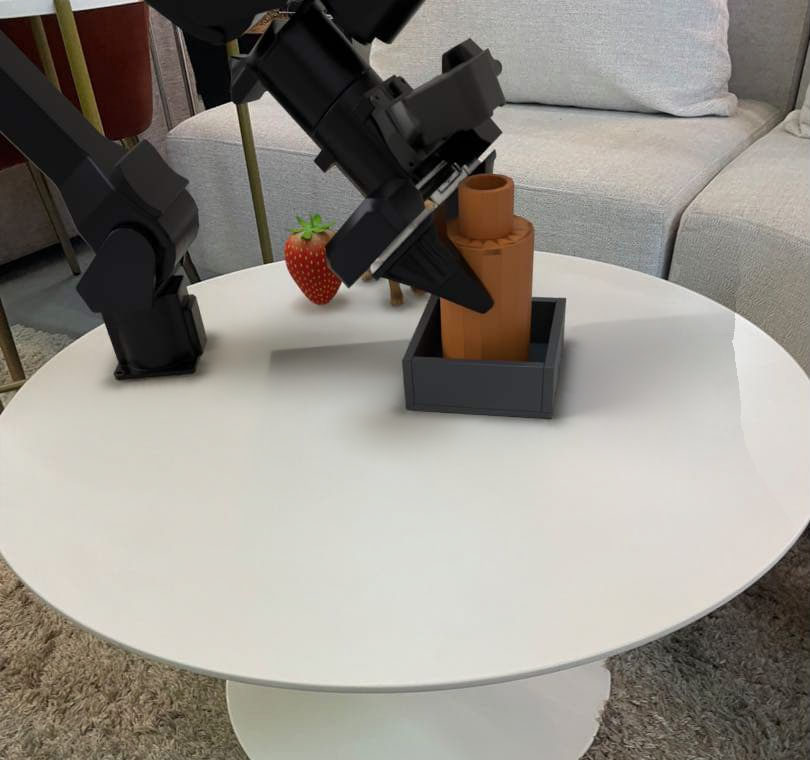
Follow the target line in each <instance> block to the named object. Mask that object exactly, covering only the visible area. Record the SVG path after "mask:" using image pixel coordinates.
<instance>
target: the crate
mask: <svg viewBox="0 0 810 760" xmlns="http://www.w3.org/2000/svg"><path fill="white" fill-rule="evenodd" d="M566 311H567V297H551V296H547V297H546V296H532V305H531V328H530V350H529V362H520V361H499V360H478V359H457V358H442V331H441V304H440V297H438V296H435V295H434V294H430V296H429V298H428V300H427V303H426V305H425V307H424V310H423V312H422V314H421V317H420V319H419V321H418V323H417V326H416V328H415V330H414V332H413V335H412V337H411V339H410V341H409V343H408V346H407V348H406V351H405V353H404V355H403V357H402V359H401V368H402V369H401V370H402V380H403V382H402V383H403V391H404V402H405V404H404V405H405V407H404V408H405V410H406V411H421V412H437V413H453V414H466V415H467V414H468V415H469V414H470V415H472V414H473V415H485V416H501V417H519V418H535V419H548V420H549V419H552V418H553V414H554V413H553V412H554V406H555V399H556V394H557V387H558V381H559V375H560V369H561V362H562V356H563V350H564V343H565V326H566V313H567V312H566Z"/></svg>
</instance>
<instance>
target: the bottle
mask: <svg viewBox="0 0 810 760" xmlns="http://www.w3.org/2000/svg"><path fill="white" fill-rule="evenodd" d="M458 207H459V217H455V218H453V219H451V220H449V221H447V222H446V223H447V234H448V236H449V238H450V240H451V241H452V242H453V244H454V245H455V246H456V248H457V249H458V250H459V252H460V253H461V254H462V256H463V257H464V259H465V260H466V261H467V263H468V264H469V265H470V267H471V268H472V269H473V271H474V272H475V274H476V275H477V276H478V278H479V279H480V280H481V282H482V283H483V284H484V286H485V288H486V289H487V291H488V292H489V294H490V295H491V297H492V299H493V300H494V306H493V307H492V308H491V309H490V310H489V311H488V312H486V313H485V314H481V313H478V312H476V311H473V310H471V309H468V308H466V307H463V306H461V305H458V304H456V303H453V302H451V301H448V300H446V299H443V298H441V297H440V304H441V331H442V358H457V359H478V360H499V361H520V362H529V350H530V328H531V305H532V297H533V281H534V255H535V232H536V230H535V227H534V225H533V222H532V221H530V220H528V219H526V218H525V217H523V216H521V215H517V214H514V212H515V211H514V210H515V181H514V179H513V178H512V177H510V176H508V175H505V174H501V173H493V174H492V173H488V174H477V175H472V176H469V177H465V178H463V179H462V180H461V181H460V182H459V183H458Z"/></svg>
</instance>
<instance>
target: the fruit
mask: <svg viewBox="0 0 810 760" xmlns="http://www.w3.org/2000/svg"><path fill="white" fill-rule="evenodd" d="M308 215H309V222H307V221H305V220H303V219H302V218H301V217H300V216H299V215H297V214H295V217H296V221H297V222H298V224H299V225H300V226H301V227H299V228H286V227H284V228H283V229H284V230H285V231H287V232H290V233H291V234H290V235H288V237H287V239H286V241H285V244H284V248H283V253H284V254H283V255H284V260H285V266H286V268H287V271H288V273H289V275H290V277H291V278H292V280H293V281H294V283H295V284H296V286H297V287H298V288H299V290H300V291H301V293H302V294H303V295H304V296H305V297H306V298H307V299H308V301H310V302H311V303H312V304H314V305H317V306H325V305H327V304H329V303H330V302H331V301H332V300H333V299H334V298H335V296H336V295H337V293H338V291H340V288H341V285H342V283H343V282H342V281H341V280H340V279H339V278H338V277H337V276H336V275H335V274H334V273H333V272H332V271H331V270H330V269H329V268H328V266H327V259H326V251H325V245H326V244H327V243H328V242H329V241H330V239H331V238H332V237H333V236H334V235H335V233H336V232H337V231H335V230H333V229H331V228H330V227H332V226H334V225H335V224H336V223H337V222H338V221H339V219H336V220H335V221H332V222H329V223H325V224H322V222H323V219H322V216H321V214H319V213H316V214H314V215H313V217H312V212H311V211H309V212H308Z"/></svg>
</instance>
